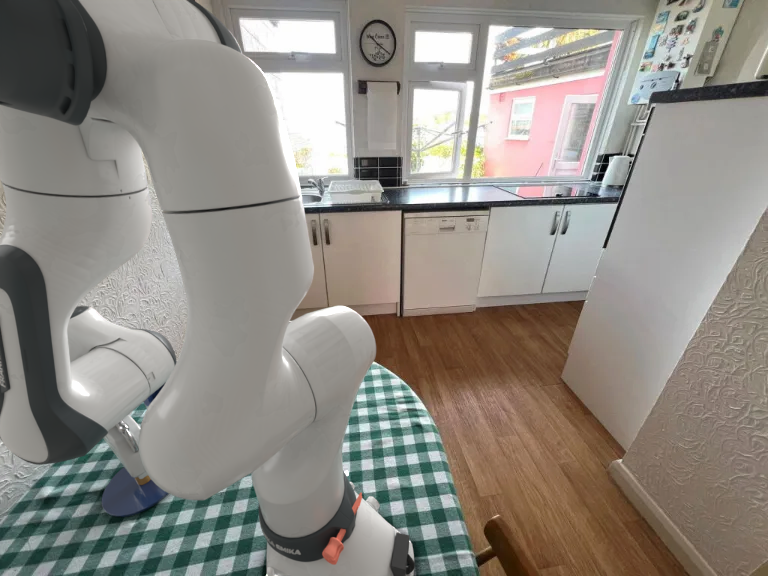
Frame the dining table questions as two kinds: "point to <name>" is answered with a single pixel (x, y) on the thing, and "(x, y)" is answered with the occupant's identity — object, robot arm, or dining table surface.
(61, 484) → the dining table surface
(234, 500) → the dining table surface
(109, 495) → the tin lid
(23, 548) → the dining table surface
